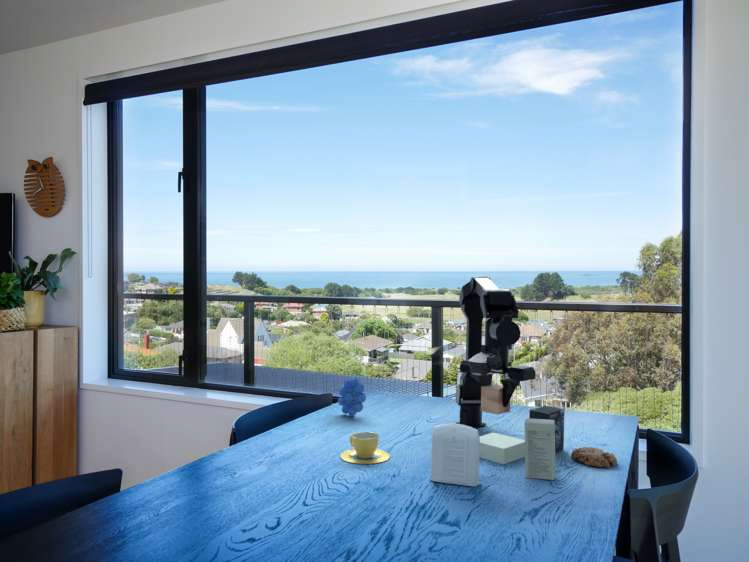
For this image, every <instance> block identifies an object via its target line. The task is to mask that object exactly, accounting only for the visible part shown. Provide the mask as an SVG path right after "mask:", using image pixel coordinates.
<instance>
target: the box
mask: <svg viewBox="0 0 749 562" xmlns="http://www.w3.org/2000/svg"><path fill="white" fill-rule="evenodd" d="M565 412H566V411H565V409H564V408H561V407H556V406H550V405H543V406H539V407H535V408H531V409H529V418H531V419H547V420H554V421H555V454H556V453H559V452H562V451H564V450H565V448H564V444H565V439H564V438H565Z"/></svg>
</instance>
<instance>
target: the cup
mask: <svg viewBox="0 0 749 562" xmlns="http://www.w3.org/2000/svg"><path fill="white" fill-rule="evenodd" d="M379 438H380V435H379V434H378V433H376V432H372V431H358V432H355V433H353V434H352V435H350V436H349V442H350V443H349V444H350V445H351V447H353V448H352V449H347V450H345V451H343V452H341V453H340V455H339V458H340V459H341V460H342V461H345V462H348V463H352V464H358V465H359V464H360V465H361V464H362V465H373V464H380V463H384V462H386V461H388V460H389V459H391V458H390V457H391V455H390V453H388V452H387V451H384V450H382V449H381V450H380V449H378V446H379V440H380V439H379ZM354 455H356V456H357V457H358V458H360V459H356V458H354V457H353V456H354ZM374 456H377V458H374V459H371V458H373V457H374ZM361 459H362V460H361ZM365 459H366V460H365ZM367 459H369V460H367Z"/></svg>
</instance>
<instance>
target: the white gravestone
mask: <svg viewBox="0 0 749 562" xmlns="http://www.w3.org/2000/svg"><path fill="white" fill-rule="evenodd" d="M432 429H433V430H432V433H431V449H430V451H431V452H430V454H431V455H430V456H431V457H430V480H431V481H432V482H437V483H443V484H451V485H458V486H466V487H474V488H475V487H478V486H479V485H480V484H479V483H480V482H479V481H480V458H479V455H480V438H479V437H480V434H479V430H478V428H472V427H469V426H466V425H462V424H456V423H453V422H452V423H442V424H438V425H437V424H436V425H435V426H433V428H432Z"/></svg>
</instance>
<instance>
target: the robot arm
mask: <svg viewBox="0 0 749 562" xmlns="http://www.w3.org/2000/svg"><path fill="white" fill-rule="evenodd" d="M494 283H495V282H494ZM494 283H493V281H492V279H491V277H490V276H488V275H485V276H483V275H479V276H478V275H474V276H471V277H470V280H469V281H468V282H467V283H465V284H464V285H462V287H461V289H460V291H459V297H458V302H459V305H460V310H461V312H462V314H463V315H464V317H465V319H466V323H465V324H466V326H465V327H466V328H465V329H466V331H465V333H466V334H465V360H464V359H463V360H461V362H460V364H459V372H460V373H462V374H461V375H460V377H459V383H458V384H457V388H456V392H455V394H454V395H455V398H454V399H455V404H457V405H458V406H459V407H460V408H459V421H457V422H455V424H462V425H466V426H469V427H472V428H475V429H478V428H481V427H484V426H487V423H486V422H483V421H482V420H483V411H481V386H486V385H492V384H493V375H494V374H498V375H504V376H505V378H501V379H500V380H499V381H500V383H501V385H502V386H503V407H507V405H508V403H509V401H510V402H511V399H512V397H513V394H514V392H515V390H516V389H517V388H518V385H519V384H520V383H521V382H525V381H531V380H535V379H536V378H537V377H536V374H537V373H536V370H535V368H534V367H533V366H527V365H516V366H512V361H509V351H510V350H512V349H513V348H512V347H513V345H515V344H516V343H517V342H519V340H520V338H521V334H522V333H521V329H520V327H519V325H518V324H517V323H516V322H515V321H513V319H518V317H519V312H520V311H519V308H518V304H517V301H516V299H515V296H514V294H512V291H511V290H510V289H507V288H501V287H500V288H499V287H498V286H497V285H495V284H494ZM484 319H485V321H484ZM483 321H484V344H483Z"/></svg>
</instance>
